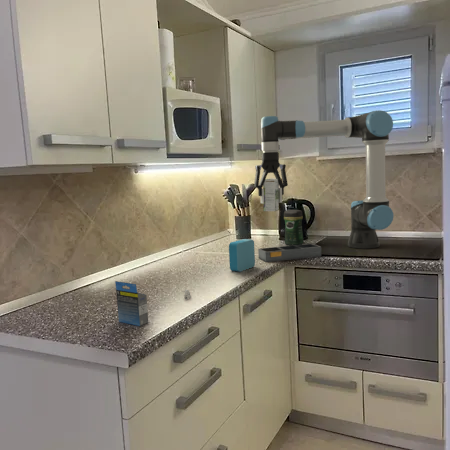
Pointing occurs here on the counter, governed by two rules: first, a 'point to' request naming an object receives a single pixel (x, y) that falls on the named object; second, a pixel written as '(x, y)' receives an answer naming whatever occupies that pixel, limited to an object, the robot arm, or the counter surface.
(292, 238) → the coffee jar
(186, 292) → the adhesive hook
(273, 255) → the rack
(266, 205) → the syrup box
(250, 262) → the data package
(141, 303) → the label tape cartridge
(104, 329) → the counter surface
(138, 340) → the counter surface
